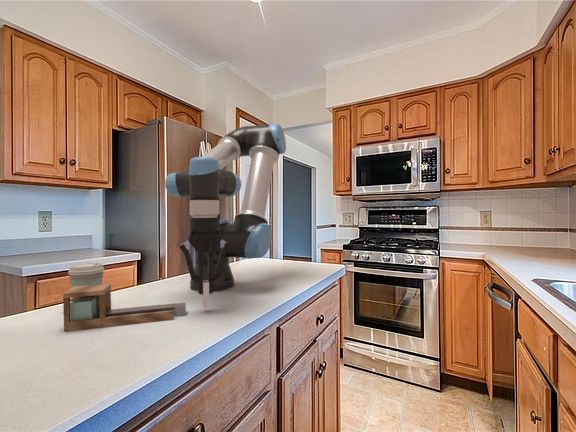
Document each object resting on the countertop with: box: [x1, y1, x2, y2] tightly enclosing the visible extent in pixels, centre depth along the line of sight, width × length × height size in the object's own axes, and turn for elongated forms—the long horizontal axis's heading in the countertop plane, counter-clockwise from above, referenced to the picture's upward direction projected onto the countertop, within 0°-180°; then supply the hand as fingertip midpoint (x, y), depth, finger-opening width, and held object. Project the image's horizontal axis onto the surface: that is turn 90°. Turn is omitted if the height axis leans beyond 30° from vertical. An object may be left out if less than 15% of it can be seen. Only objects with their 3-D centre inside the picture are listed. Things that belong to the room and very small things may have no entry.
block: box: [70, 297, 97, 321], centre depth 74 cm, size 4×4×6 cm
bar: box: [106, 302, 187, 318], centre depth 78 cm, size 19×3×3 cm, turn 108°
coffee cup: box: [67, 262, 105, 289], centre depth 87 cm, size 9×8×12 cm
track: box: [62, 283, 175, 332], centre depth 77 cm, size 23×7×8 cm, turn 109°
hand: (206, 306), depth 83 cm, fingers closed
